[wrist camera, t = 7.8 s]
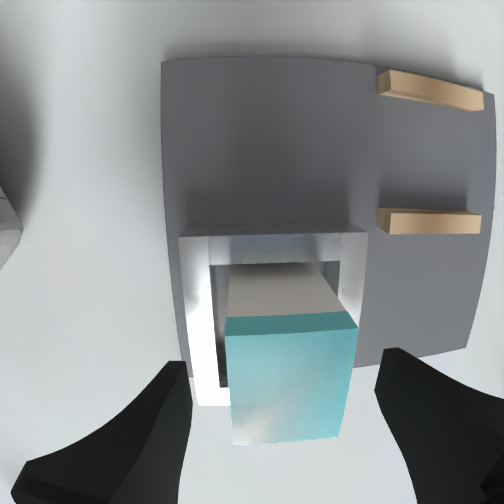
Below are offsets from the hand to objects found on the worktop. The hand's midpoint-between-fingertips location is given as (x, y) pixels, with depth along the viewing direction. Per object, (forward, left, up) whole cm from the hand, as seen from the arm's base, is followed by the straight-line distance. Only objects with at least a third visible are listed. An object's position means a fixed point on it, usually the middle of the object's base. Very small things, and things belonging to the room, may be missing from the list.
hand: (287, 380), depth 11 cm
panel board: (-4, -4, -7) cm, 9 cm away
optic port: (0, 0, -6) cm, 6 cm away
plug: (0, 0, -6) cm, 6 cm away
